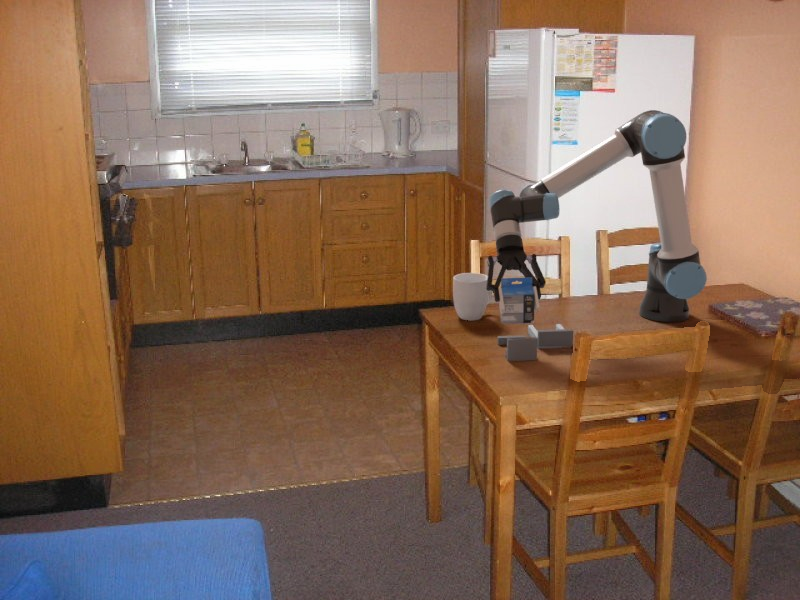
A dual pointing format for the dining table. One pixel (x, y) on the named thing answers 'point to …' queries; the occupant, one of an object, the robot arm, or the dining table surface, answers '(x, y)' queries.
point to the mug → (470, 295)
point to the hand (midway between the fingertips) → (520, 310)
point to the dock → (552, 337)
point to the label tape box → (517, 300)
